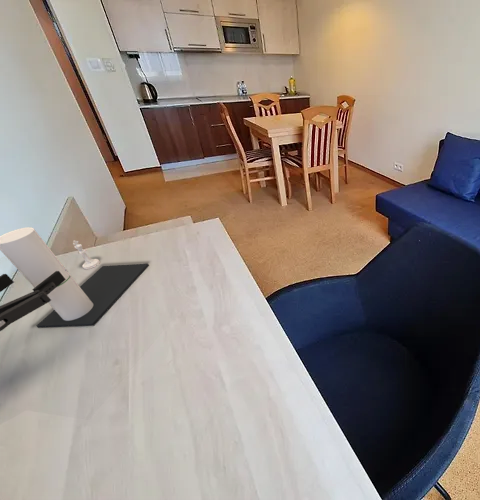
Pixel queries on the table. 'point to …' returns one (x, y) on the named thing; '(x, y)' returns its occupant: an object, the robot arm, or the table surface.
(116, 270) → the mat
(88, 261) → the chess piece
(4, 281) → the robot arm
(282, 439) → the table surface
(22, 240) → the cylindrical container
